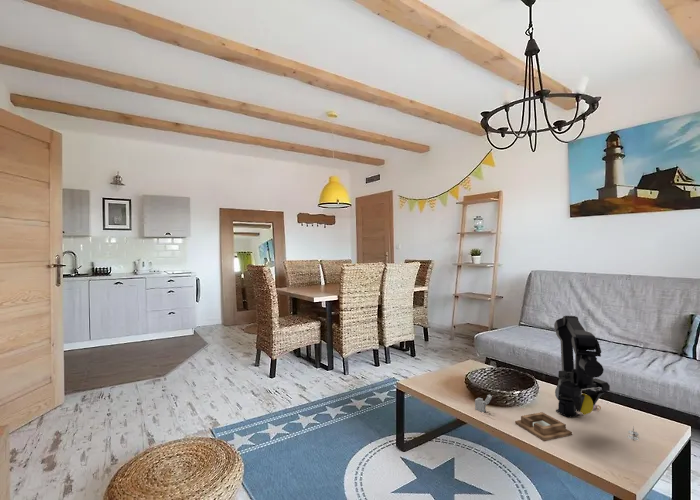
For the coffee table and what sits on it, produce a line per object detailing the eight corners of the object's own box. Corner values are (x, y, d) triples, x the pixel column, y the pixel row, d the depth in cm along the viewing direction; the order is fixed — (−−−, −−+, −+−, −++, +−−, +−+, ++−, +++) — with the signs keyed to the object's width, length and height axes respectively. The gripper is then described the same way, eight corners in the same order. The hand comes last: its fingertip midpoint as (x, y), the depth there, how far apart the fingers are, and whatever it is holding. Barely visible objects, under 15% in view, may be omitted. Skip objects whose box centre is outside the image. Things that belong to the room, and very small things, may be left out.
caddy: (542, 418, 150) (542, 410, 150) (572, 434, 137) (572, 425, 136) (515, 423, 145) (515, 414, 145) (543, 441, 132) (543, 431, 132)
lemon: (593, 419, 129) (593, 397, 129) (575, 415, 132) (575, 394, 132) (592, 413, 134) (593, 392, 134) (575, 410, 137) (575, 389, 137)
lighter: (474, 409, 158) (474, 391, 158) (476, 408, 159) (476, 390, 159) (490, 414, 153) (490, 396, 153) (492, 413, 154) (492, 395, 154)
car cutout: (645, 445, 130) (645, 433, 130) (622, 439, 134) (622, 427, 134) (645, 429, 142) (645, 418, 142) (624, 424, 146) (624, 413, 146)
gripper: (582, 359, 143) (582, 398, 143) (546, 364, 138) (546, 404, 138) (610, 368, 133) (610, 410, 133) (572, 373, 127) (572, 417, 127)
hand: (584, 410), depth 133 cm, fingers closed on lemon, 5 cm apart
